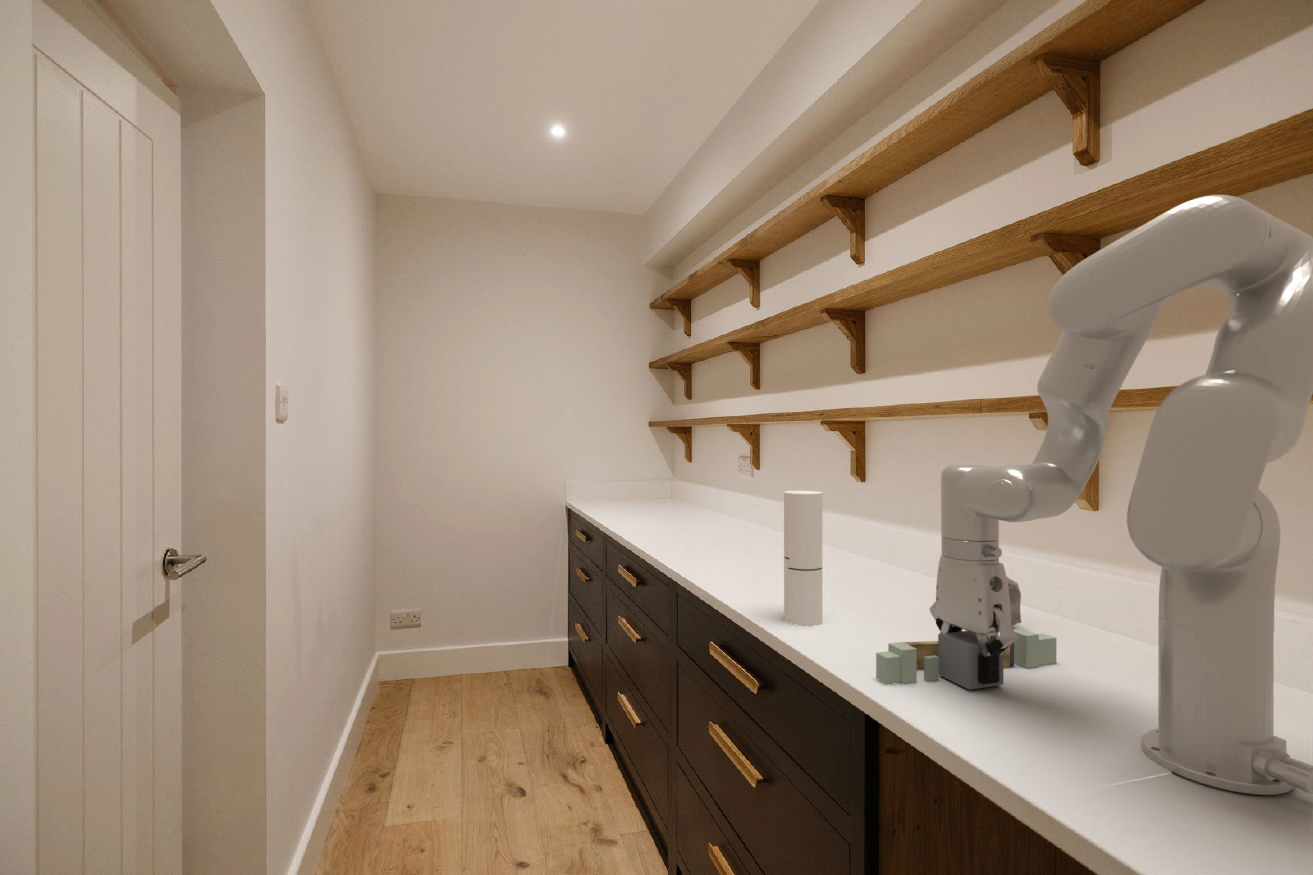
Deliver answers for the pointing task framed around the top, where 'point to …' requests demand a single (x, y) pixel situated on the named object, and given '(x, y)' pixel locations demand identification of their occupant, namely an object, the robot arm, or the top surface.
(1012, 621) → the stone
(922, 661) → the brown wooden plank
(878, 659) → the grey-green stepped bar
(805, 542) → the cylindrical container
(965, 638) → the rectangular block
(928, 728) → the top surface
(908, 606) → the top surface
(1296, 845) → the top surface
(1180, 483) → the robot arm
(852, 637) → the top surface
